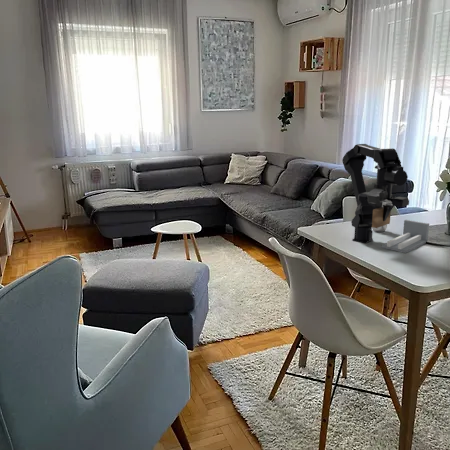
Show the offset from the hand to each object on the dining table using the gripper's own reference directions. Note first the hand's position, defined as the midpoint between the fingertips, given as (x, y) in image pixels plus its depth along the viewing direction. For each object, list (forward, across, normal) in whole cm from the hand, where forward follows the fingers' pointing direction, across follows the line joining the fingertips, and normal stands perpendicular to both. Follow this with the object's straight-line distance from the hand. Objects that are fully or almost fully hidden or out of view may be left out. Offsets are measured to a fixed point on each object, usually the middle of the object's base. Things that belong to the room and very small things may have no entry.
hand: (381, 220), depth 175 cm
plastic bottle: (+12, -14, +24) cm, 30 cm away
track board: (+12, +4, +13) cm, 18 cm away
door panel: (+2, 0, 0) cm, 2 cm away
